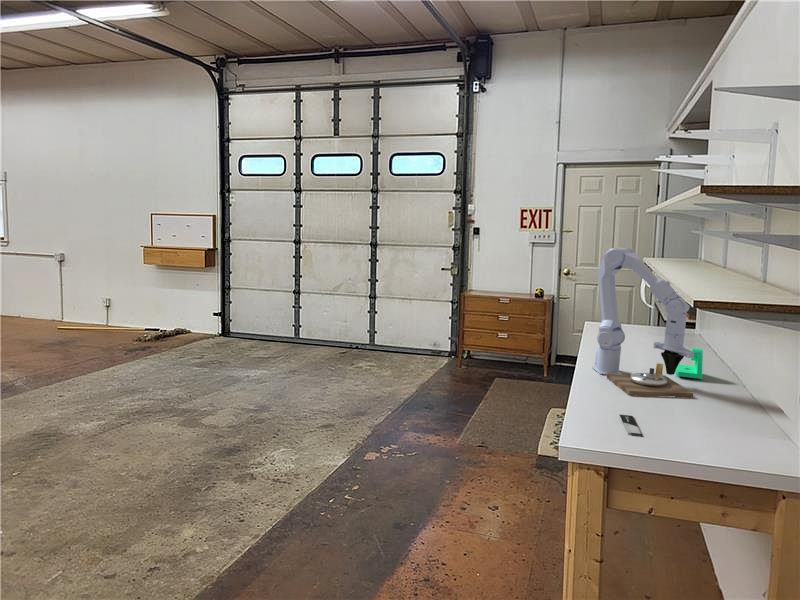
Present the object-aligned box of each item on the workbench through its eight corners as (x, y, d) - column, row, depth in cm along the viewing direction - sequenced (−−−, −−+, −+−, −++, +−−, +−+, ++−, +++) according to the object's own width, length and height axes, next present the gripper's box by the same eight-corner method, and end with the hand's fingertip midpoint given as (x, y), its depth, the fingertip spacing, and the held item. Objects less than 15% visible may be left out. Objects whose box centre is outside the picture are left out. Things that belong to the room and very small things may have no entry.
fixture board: (606, 377, 204) (606, 373, 203) (664, 379, 204) (664, 375, 204) (628, 395, 184) (629, 390, 184) (693, 397, 184) (693, 393, 184)
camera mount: (673, 370, 218) (676, 343, 216) (696, 373, 215) (700, 345, 213) (676, 379, 206) (680, 350, 205) (701, 381, 204) (704, 352, 202)
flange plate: (658, 389, 186) (660, 374, 185) (624, 381, 194) (625, 367, 193) (676, 381, 196) (677, 367, 196) (643, 373, 204) (644, 360, 203)
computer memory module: (644, 434, 149) (627, 432, 150) (643, 438, 150) (626, 436, 150) (634, 415, 164) (619, 413, 165) (633, 419, 164) (618, 417, 165)
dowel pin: (648, 377, 200) (649, 368, 200) (652, 377, 200) (653, 368, 200) (649, 378, 199) (650, 369, 199) (654, 378, 199) (655, 369, 199)
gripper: (702, 337, 189) (697, 379, 191) (666, 328, 202) (662, 367, 204) (686, 338, 186) (681, 380, 188) (650, 329, 199) (646, 369, 202)
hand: (670, 374), depth 196 cm, fingers closed
